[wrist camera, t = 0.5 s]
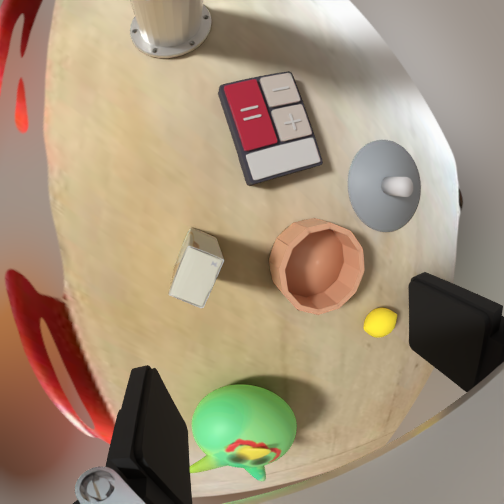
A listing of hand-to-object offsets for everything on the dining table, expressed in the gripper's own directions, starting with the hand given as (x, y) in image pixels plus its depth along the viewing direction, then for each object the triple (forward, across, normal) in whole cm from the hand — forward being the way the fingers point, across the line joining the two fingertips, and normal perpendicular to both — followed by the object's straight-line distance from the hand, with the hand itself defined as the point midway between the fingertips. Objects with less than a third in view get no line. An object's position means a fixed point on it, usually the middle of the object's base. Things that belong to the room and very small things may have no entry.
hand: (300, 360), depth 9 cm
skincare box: (+35, +4, +3) cm, 35 cm away
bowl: (+35, -12, +9) cm, 38 cm away
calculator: (+35, -11, -12) cm, 39 cm away
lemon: (+35, -23, +24) cm, 48 cm away
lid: (+35, -29, 0) cm, 46 cm away
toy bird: (+35, +6, +33) cm, 48 cm away
